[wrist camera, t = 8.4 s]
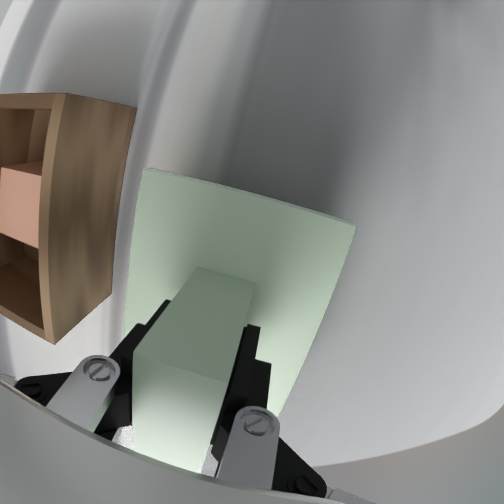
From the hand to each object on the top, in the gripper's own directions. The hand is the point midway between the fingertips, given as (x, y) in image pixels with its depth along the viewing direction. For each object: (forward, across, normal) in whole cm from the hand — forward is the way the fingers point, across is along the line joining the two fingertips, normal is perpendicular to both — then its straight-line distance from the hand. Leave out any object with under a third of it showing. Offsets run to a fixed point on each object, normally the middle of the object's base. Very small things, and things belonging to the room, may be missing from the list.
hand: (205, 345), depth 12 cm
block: (+5, +11, -3) cm, 12 cm away
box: (+5, +11, -3) cm, 13 cm away
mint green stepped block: (+4, 0, 0) cm, 4 cm away
